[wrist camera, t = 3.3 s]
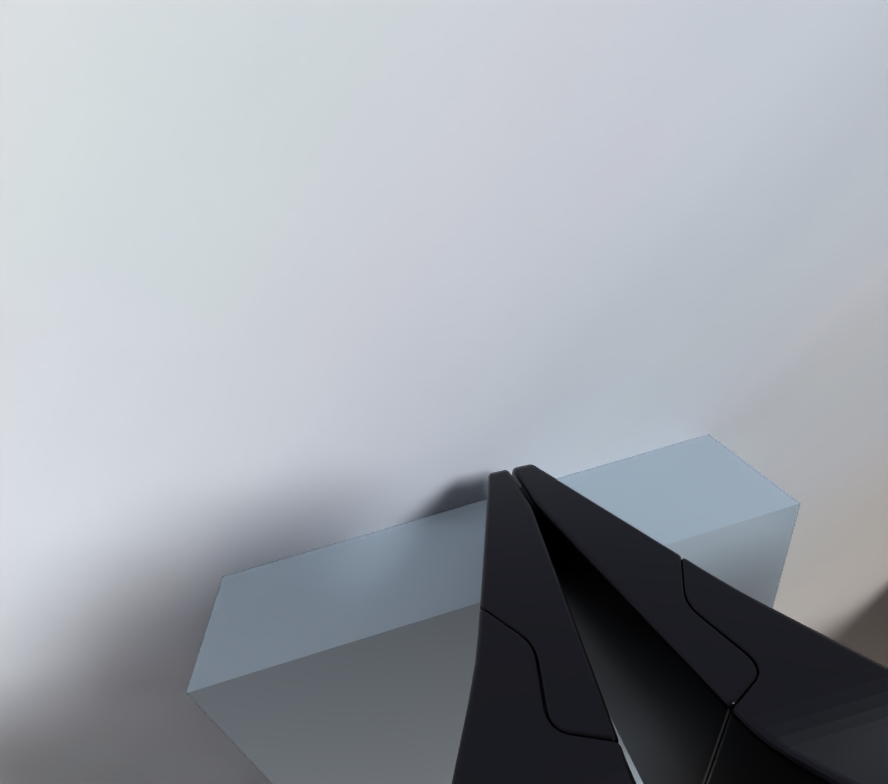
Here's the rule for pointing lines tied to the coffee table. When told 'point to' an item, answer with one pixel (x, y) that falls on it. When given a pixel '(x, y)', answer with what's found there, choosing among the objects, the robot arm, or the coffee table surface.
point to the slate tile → (438, 619)
